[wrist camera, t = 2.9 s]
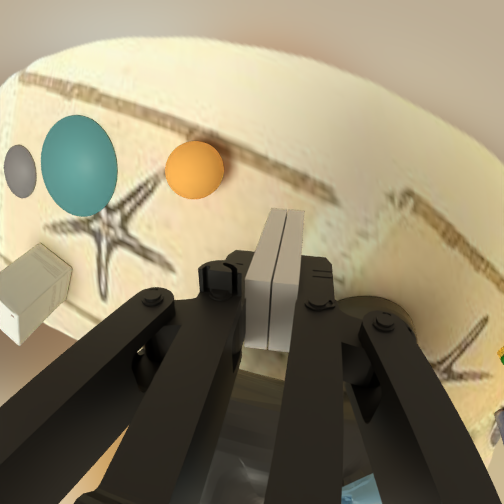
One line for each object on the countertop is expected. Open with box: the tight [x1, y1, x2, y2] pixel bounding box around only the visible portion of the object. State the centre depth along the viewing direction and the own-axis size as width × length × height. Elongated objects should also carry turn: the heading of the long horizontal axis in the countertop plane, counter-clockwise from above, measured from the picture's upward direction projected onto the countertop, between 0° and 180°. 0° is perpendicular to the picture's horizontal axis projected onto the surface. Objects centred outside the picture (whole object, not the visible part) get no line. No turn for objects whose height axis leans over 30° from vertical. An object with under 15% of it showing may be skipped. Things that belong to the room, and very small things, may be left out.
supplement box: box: [0, 243, 72, 346], centre depth 37 cm, size 7×7×13 cm
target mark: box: [41, 115, 117, 217], centre depth 34 cm, size 13×13×1 cm
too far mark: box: [4, 145, 36, 198], centre depth 35 cm, size 8×8×1 cm
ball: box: [165, 141, 224, 199], centre depth 29 cm, size 6×6×6 cm
